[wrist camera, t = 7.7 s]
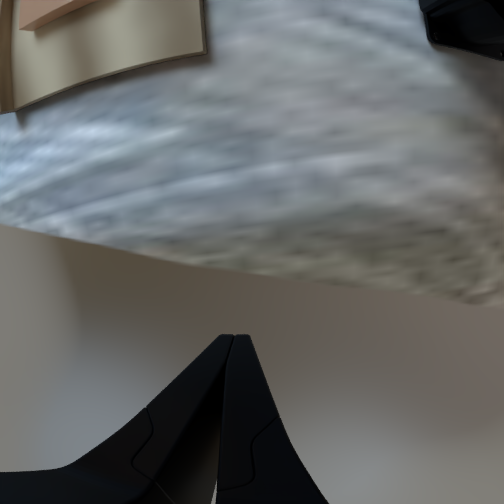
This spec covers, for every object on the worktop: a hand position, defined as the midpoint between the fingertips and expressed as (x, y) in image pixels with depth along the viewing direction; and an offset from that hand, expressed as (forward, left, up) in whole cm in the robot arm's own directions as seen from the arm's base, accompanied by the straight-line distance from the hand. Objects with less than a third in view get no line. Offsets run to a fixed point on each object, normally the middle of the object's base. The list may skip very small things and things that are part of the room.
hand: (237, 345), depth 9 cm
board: (+10, -19, -12) cm, 25 cm away
